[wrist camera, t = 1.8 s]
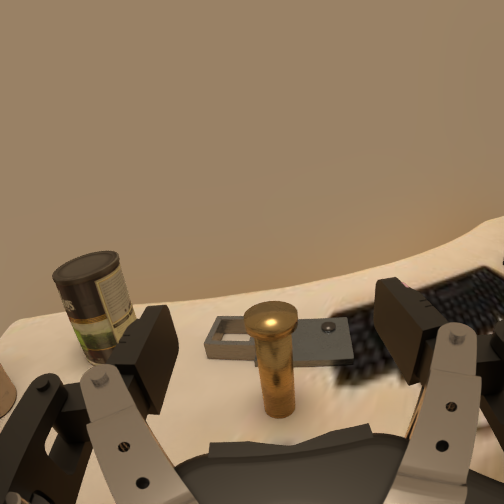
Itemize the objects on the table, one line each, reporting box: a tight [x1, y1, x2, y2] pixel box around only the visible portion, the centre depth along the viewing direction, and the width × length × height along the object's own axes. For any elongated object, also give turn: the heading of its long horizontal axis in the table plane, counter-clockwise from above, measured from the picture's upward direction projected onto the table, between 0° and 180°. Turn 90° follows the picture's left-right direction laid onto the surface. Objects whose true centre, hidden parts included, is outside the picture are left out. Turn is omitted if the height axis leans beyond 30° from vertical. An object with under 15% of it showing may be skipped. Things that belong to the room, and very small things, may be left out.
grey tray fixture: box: [204, 316, 354, 367], centre depth 38 cm, size 19×9×2 cm, turn 80°
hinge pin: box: [244, 301, 298, 418], centre depth 26 cm, size 4×4×12 cm
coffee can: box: [52, 251, 137, 366], centre depth 38 cm, size 10×10×14 cm
